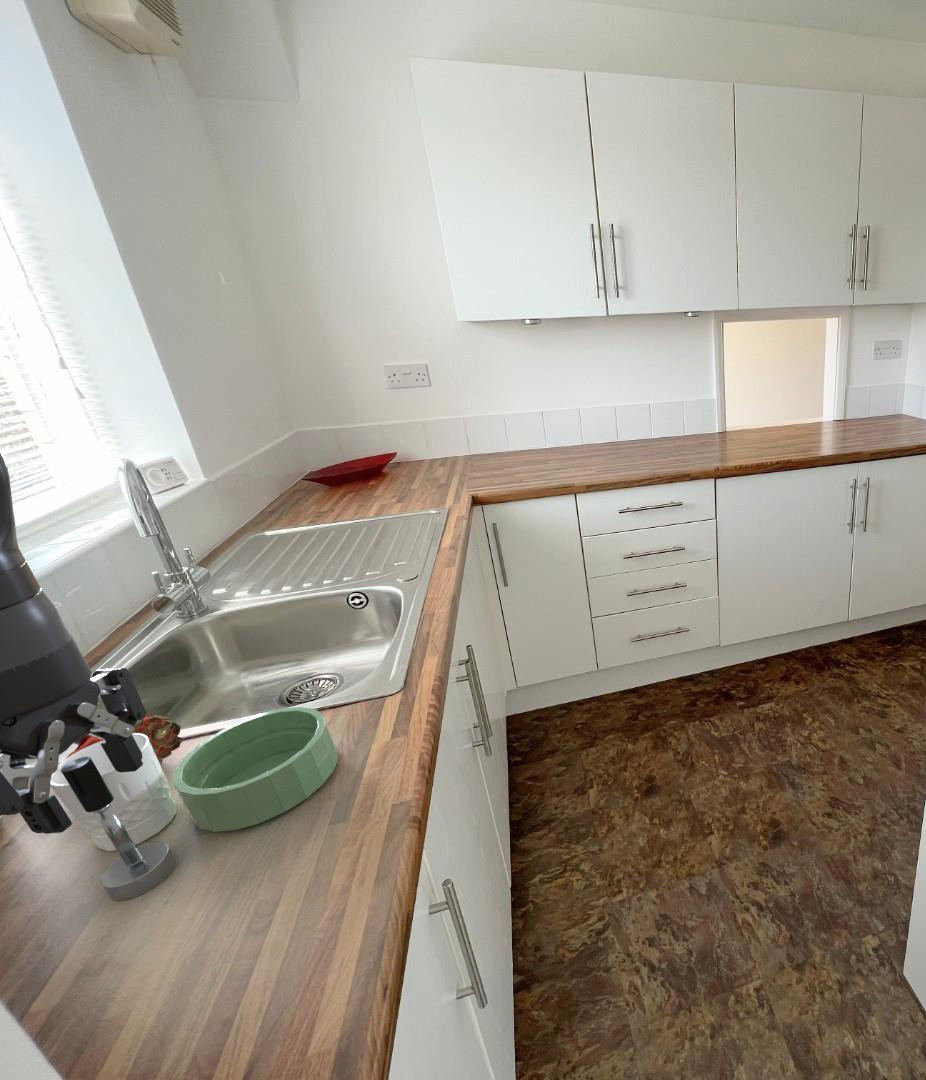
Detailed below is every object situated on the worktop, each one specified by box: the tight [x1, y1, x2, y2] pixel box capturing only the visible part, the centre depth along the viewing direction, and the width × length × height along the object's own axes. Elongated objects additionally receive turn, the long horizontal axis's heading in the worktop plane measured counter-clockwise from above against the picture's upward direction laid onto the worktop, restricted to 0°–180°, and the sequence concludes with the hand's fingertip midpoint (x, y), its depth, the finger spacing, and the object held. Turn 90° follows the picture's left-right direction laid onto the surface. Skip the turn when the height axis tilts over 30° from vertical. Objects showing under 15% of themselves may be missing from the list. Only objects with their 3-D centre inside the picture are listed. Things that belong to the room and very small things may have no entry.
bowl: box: [172, 706, 339, 833], centre depth 70 cm, size 15×15×6 cm
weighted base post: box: [61, 757, 177, 902], centre depth 57 cm, size 5×5×15 cm
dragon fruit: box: [63, 714, 184, 765], centre depth 74 cm, size 8×8×12 cm
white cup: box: [50, 733, 178, 852], centre depth 65 cm, size 8×8×10 cm
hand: (96, 797), depth 56 cm, fingers open, 7 cm apart
